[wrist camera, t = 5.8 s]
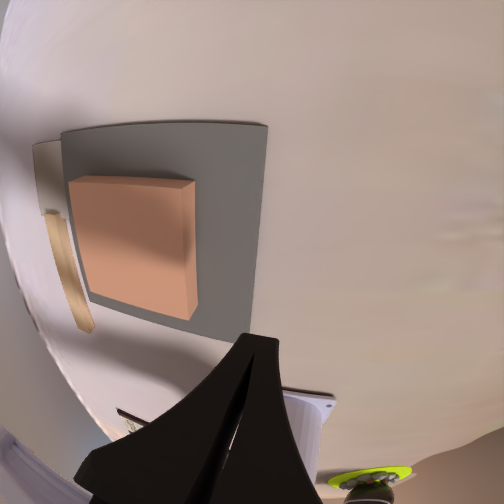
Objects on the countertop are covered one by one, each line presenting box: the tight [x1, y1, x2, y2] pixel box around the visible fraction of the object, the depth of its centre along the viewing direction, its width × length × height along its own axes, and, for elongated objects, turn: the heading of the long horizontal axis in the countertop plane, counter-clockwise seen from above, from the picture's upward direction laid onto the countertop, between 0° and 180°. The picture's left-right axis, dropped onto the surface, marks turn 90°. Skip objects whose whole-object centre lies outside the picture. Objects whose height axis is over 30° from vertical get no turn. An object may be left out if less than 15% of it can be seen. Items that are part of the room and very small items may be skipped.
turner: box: [32, 140, 95, 333], centre depth 19 cm, size 18×4×1 cm, turn 176°
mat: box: [61, 123, 268, 343], centre depth 16 cm, size 14×14×1 cm
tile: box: [68, 175, 198, 321], centre depth 15 cm, size 8×2×8 cm
